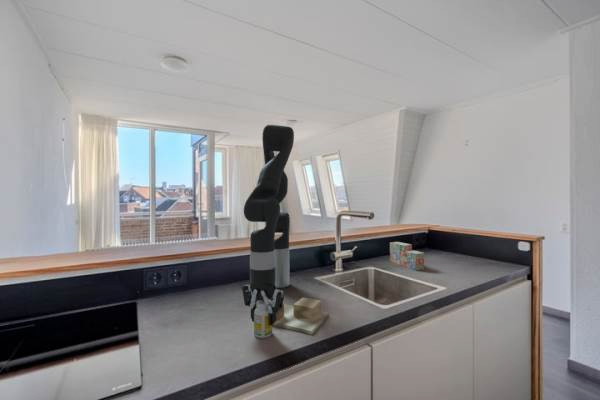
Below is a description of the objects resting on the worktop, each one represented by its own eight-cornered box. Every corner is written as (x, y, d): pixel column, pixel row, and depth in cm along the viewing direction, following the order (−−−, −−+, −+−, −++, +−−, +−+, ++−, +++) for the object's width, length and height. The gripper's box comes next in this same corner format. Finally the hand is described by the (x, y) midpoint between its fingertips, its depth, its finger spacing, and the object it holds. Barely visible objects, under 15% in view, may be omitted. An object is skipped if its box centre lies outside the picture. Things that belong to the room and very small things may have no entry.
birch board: (260, 322, 90) (260, 319, 90) (282, 306, 103) (282, 304, 103) (311, 334, 82) (311, 331, 82) (328, 315, 95) (328, 313, 95)
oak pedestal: (293, 316, 92) (293, 304, 92) (302, 308, 98) (302, 297, 98) (312, 320, 89) (312, 308, 89) (321, 312, 95) (321, 300, 95)
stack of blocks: (424, 269, 153) (424, 247, 153) (415, 270, 151) (415, 248, 150) (397, 261, 173) (397, 241, 173) (389, 262, 171) (389, 242, 170)
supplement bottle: (253, 339, 80) (253, 305, 79) (254, 330, 85) (254, 298, 85) (272, 338, 80) (272, 304, 80) (272, 329, 86) (272, 298, 85)
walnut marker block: (267, 318, 91) (267, 306, 91) (273, 313, 94) (273, 301, 94) (277, 320, 89) (277, 308, 89) (284, 315, 93) (284, 303, 93)
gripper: (290, 265, 82) (290, 322, 83) (250, 260, 89) (251, 313, 89) (276, 271, 76) (277, 333, 76) (235, 265, 82) (235, 322, 82)
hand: (263, 322), depth 82 cm, fingers closed on supplement bottle, 5 cm apart
